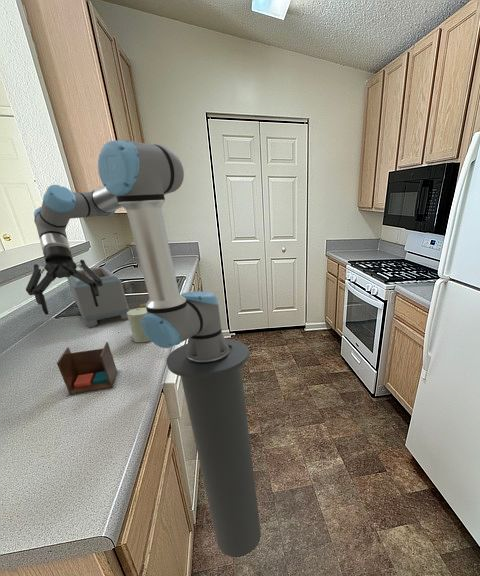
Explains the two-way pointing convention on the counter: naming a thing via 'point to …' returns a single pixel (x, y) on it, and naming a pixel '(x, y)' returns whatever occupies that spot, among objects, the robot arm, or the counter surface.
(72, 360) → the brown wooden open box
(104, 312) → the toaster
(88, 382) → the packet coral
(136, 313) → the can
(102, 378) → the packet teal
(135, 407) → the counter surface
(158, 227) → the robot arm
